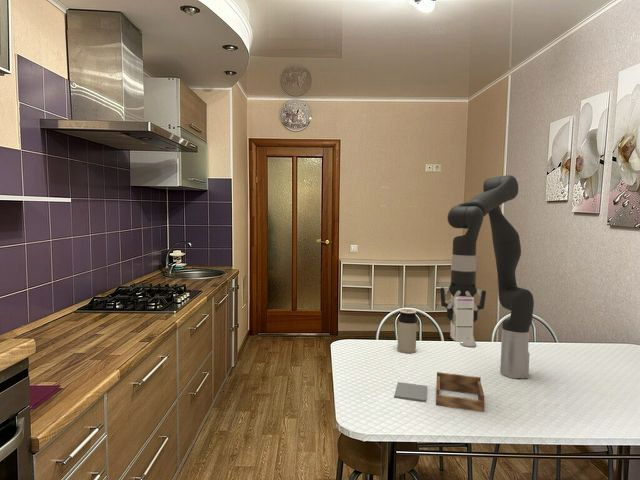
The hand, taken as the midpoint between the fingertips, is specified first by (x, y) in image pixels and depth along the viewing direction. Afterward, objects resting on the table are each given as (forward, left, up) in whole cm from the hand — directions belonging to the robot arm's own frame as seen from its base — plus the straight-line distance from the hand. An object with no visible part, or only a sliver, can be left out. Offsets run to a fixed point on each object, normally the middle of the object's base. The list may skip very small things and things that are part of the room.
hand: (461, 320), depth 129 cm
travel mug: (+20, -45, -26) cm, 56 cm away
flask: (-7, -64, -26) cm, 69 cm away
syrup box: (0, 0, -6) cm, 6 cm away
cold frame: (0, 0, -26) cm, 26 cm away
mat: (+15, 0, -26) cm, 30 cm away
